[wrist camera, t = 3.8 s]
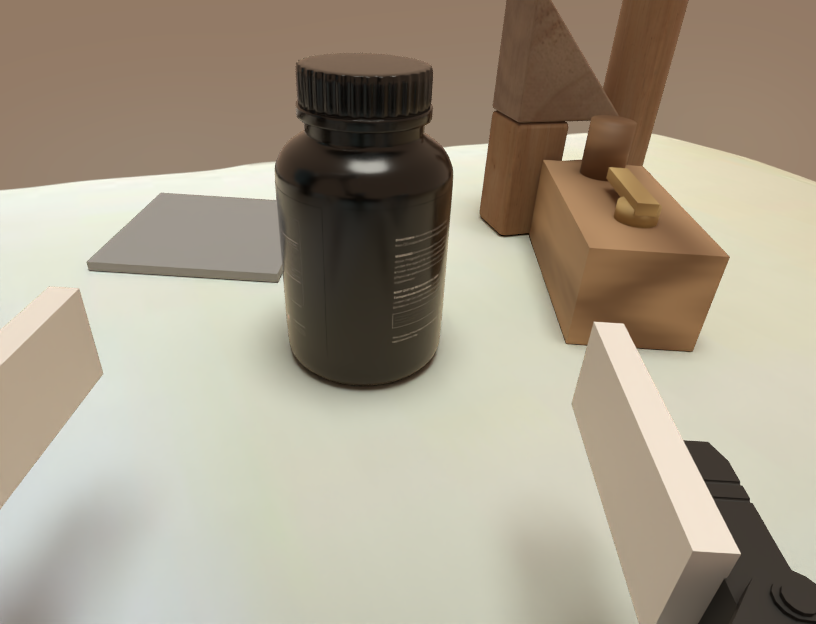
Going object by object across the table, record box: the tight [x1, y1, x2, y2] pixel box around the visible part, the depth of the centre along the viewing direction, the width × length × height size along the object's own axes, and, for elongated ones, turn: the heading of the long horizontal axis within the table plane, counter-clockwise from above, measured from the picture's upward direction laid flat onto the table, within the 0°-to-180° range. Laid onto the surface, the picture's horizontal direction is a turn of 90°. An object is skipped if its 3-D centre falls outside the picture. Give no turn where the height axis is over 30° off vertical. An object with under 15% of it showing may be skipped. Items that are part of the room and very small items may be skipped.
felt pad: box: [87, 193, 283, 282], centre depth 35 cm, size 10×10×1 cm
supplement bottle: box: [275, 53, 453, 386], centre depth 23 cm, size 7×7×12 cm
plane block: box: [529, 115, 730, 351], centre depth 30 cm, size 6×12×8 cm, turn 178°
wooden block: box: [480, 0, 689, 235], centre depth 35 cm, size 4×11×18 cm, turn 109°
